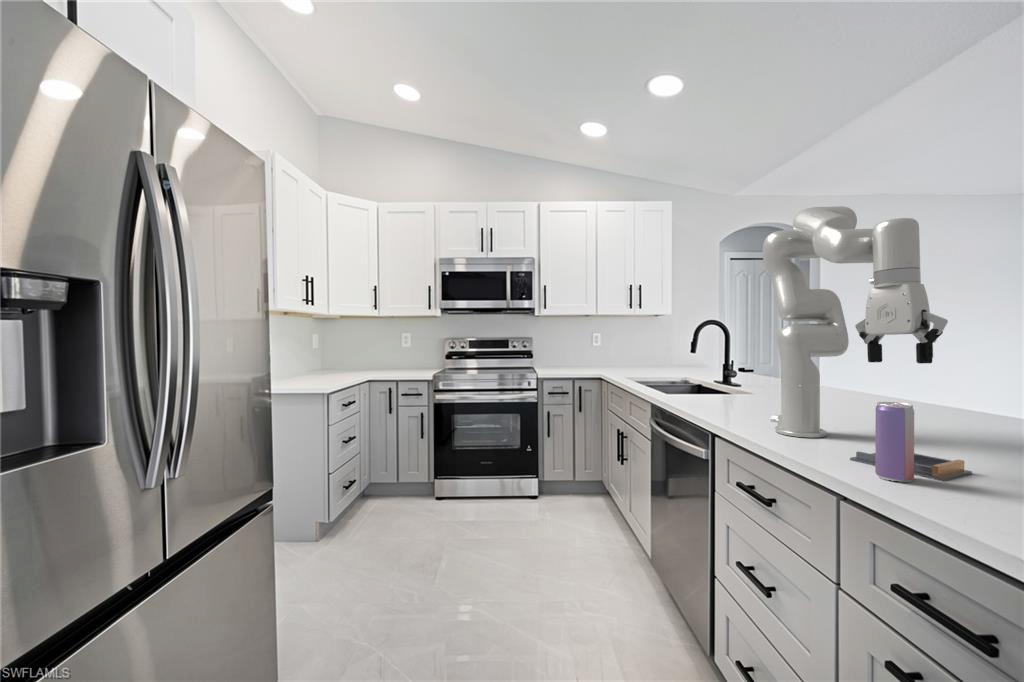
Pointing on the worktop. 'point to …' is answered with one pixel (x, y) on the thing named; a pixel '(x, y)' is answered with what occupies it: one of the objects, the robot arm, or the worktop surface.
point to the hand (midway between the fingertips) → (898, 362)
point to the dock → (925, 466)
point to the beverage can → (894, 441)
